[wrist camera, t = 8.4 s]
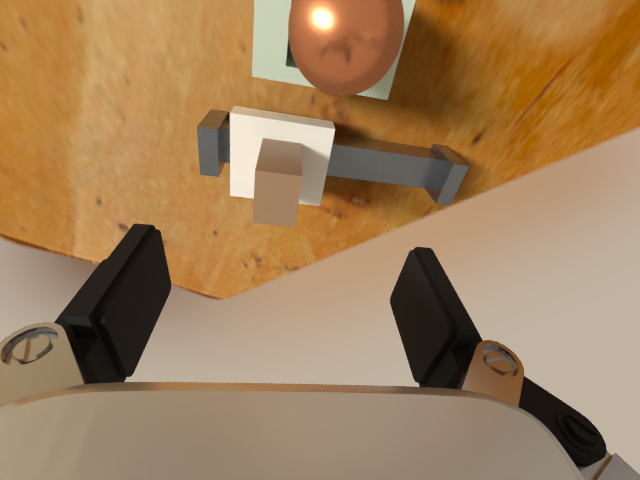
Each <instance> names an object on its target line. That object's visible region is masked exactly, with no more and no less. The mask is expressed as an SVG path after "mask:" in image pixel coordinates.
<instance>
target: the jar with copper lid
mask: <svg viewBox="0 0 640 480" xmlns="http://www.w3.org/2000/svg"><path fill="white" fill-rule="evenodd" d="M403 32H404V10H403V4H402V0H293V2H292V5H291V9H290V14H289V21H288V36H289V44H290V49H291V52H292V56H293V58H294V61H295V63H296V65H297V67H298V69H299V70H300V72H301V73H302V75H303V76H304V77H305V78H306V79H307V81H308V82H309V83H310V84H312V85H313V86H314V87H316V88H317V89H319V90H321V91H323V92H325V93H327V94H331V95H335V96H350V95H356V94H359V93H362V92H364V91H366V90H368V89H369V88H371V87H372V86H374V85H375V84H376V83H378V82H379V81H380V80H381V79H382V78H383V77H384V76H385V75H386V73H387V72H388V71H389V69H390V68H391V66H392V65H393V63H394V61H395V59H396V57H397V55H398V52H399V49H400V46H401V43H402V38H403Z"/></svg>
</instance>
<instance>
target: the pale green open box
mask: <svg viewBox="0 0 640 480" xmlns="http://www.w3.org/2000/svg"><path fill="white" fill-rule="evenodd" d="M415 1H416V0H402V4H403V10H404V32H403V38H402V43H401V46H400V49H399V52H398V55H397V57H396V59H395V61H394V63H393V65H392V66H391V68H390V69H389V71H388V72H387V73H386V75H385V76H384V77H383V78H382V79H381V80H380V81H379V82H378V83H376V84H375V85H374V86H372V87H371V88H369V89H368V90H366V91H364V92H362V93H359V94H356V95H361V96H367V97H373V98H378V99H384V100H388V96H389V93H390V89H391V86H392V82H393V79H394V75H395V72H396V68H397V64H398V61H399V57H400V54H401V50H402V47H403V43H404V40H405V36H406V33H407V29H408V26H409V22H410V18H411V15H412V11H413V8H414V4H415ZM292 2H293V0H255V3H254V33H253V63H252V76H253V77H258V78H264V79H270V80H275V81H281V82H287V83H293V84H298V85H304V86H310V87H314V86H313V85H312V84H310V83H309V82H308V81H307V79H306V78H305V77H304V76H303V75H302V73H301V72H300V70H299V69H298V67H297V65H296V63H295V61H294V58H293V56H292V52H291V49H290V48H288V46H289V36H288V21H289V14H290V9H291V5H292ZM315 88H316V87H315Z"/></svg>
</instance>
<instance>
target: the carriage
mask: <svg viewBox="0 0 640 480" xmlns="http://www.w3.org/2000/svg"><path fill="white" fill-rule="evenodd" d="M334 133H335V127H334V124H333V122H332V121H327V120H321V119H315V118H308V117H302V116H296V115H289V114H283V113H277V112H271V111H264V110H258V109H252V108H245V107H239V106H234V107H233V109H232V110H231V112H230V196H237V197H246V198H254V203H253V223H257V224H267V225H277V226H287V227H295V225H296V218H297V211H298V204H308V205H316V206H320V204H321V199H322V194H323V189H324V184H325V179H326V174H327V169H328V164H329V159H330V153H331V148H332V143H333V138H334Z"/></svg>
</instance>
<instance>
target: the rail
mask: <svg viewBox="0 0 640 480" xmlns="http://www.w3.org/2000/svg"><path fill="white" fill-rule="evenodd" d="M197 134H198V149H199V163H200V175H207V176H216V177H219V175H220V173H221V171H222V168H223V166H224V164H225V162H228V163H230V118H228V112H224V111H218V110H212V109H211V110H210V111H209V113H208V114H207V115H206V116H205V118H204V119H203V120H202V121H201V122H200V124H199V125H198V126H197ZM468 168H469V166H468V165H467V164H466V163H465V162H464V161H463V160H462V159H461V158H460V157H459V156H457V155H456V154H455V153H454V152H453V151H452V150H451V149H450V148H449V147H447V146H444V145H437V144H433V145H432V148H431V149H430V148H424V147H417V146H410V145H404V144H397V143H391V142H384V141H378V140H371V139H364V138H358V137H351V136H345V135H338V134H334V138H333V143H332V148H331V153H330V159H329V164H328V169H327V174H326V175H328V176H335V177H343V178H351V179H358V180H366V181H374V182H381V183H389V184H397V185H405V186H412V187H420V188H425V189H426V190H427V192H428V193H429V195H430V196H431V197H432V199H433V200H434V201H435V203H437V204H445V205H451V203H452V201H453V199H454V197H455V195H456V193H457V191H458V189H459V187H460V184H461V182H462V180H463V178H464V176H465V174H466V172H467V170H468Z"/></svg>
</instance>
